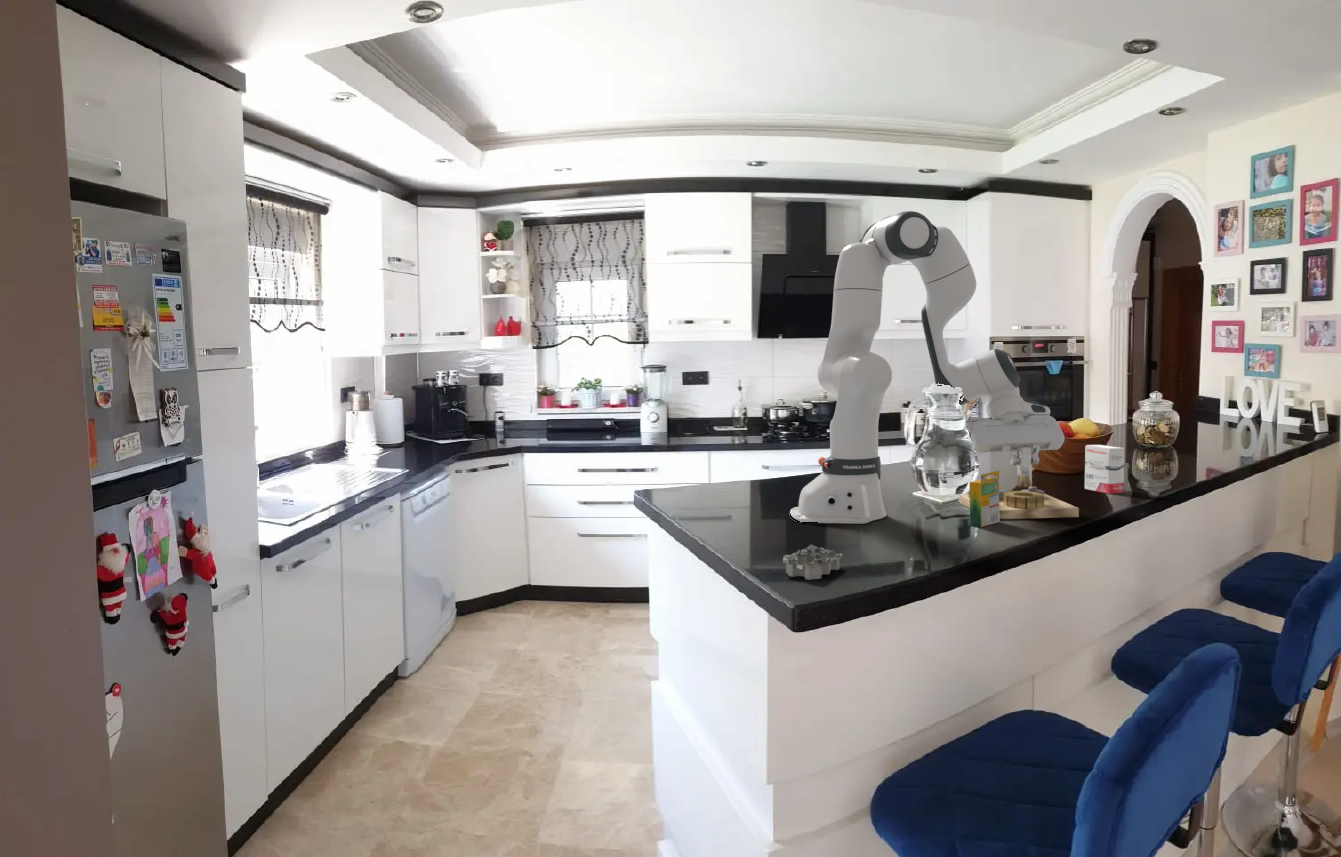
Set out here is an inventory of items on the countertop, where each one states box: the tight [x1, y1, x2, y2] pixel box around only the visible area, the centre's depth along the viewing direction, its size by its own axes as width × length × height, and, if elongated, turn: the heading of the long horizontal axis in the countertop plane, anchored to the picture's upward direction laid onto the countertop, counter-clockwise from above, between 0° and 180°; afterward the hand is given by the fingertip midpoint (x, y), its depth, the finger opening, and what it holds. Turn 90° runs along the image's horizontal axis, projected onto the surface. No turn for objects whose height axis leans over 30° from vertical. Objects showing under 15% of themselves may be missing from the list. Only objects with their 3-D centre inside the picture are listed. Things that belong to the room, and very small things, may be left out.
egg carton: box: [782, 544, 843, 581], centre depth 135 cm, size 11×8×4 cm
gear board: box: [958, 485, 1080, 520], centre depth 178 cm, size 20×20×4 cm
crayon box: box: [968, 470, 1001, 528], centre depth 165 cm, size 7×3×12 cm, turn 126°
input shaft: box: [1016, 446, 1033, 488], centre depth 172 cm, size 3×3×9 cm
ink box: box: [1084, 444, 1125, 495], centre depth 195 cm, size 8×5×12 cm, turn 13°
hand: (1025, 463), depth 172 cm, fingers closed on input shaft, 3 cm apart
